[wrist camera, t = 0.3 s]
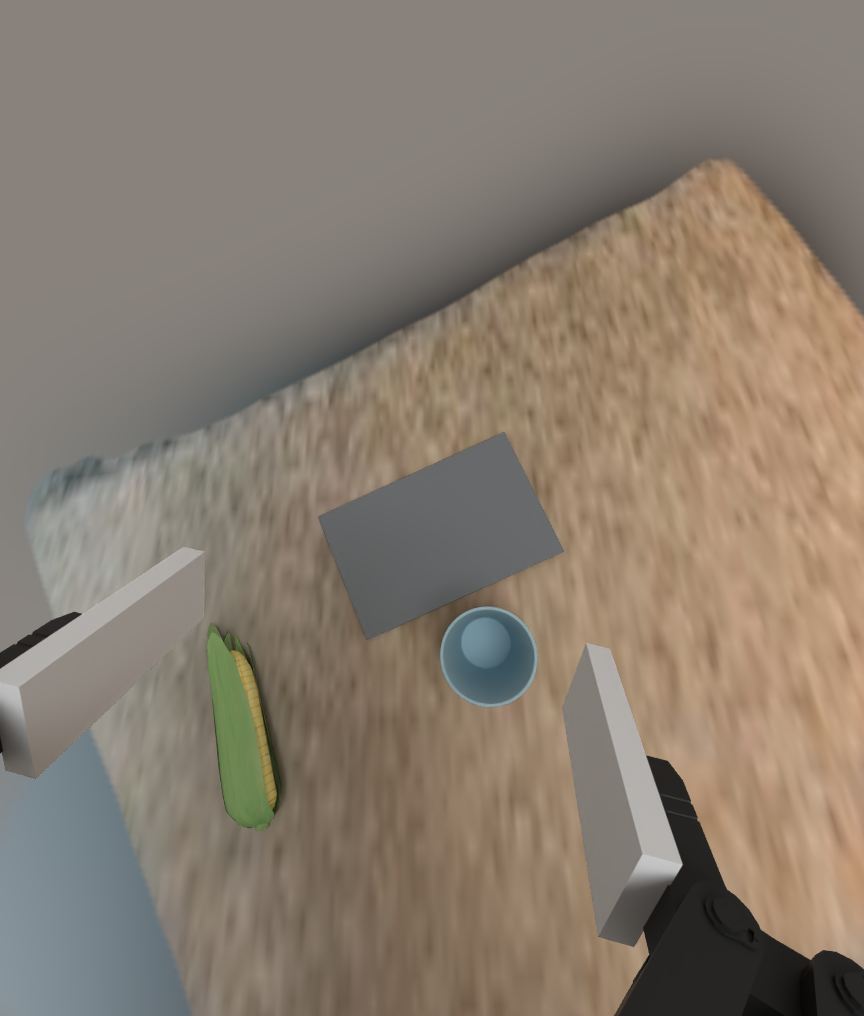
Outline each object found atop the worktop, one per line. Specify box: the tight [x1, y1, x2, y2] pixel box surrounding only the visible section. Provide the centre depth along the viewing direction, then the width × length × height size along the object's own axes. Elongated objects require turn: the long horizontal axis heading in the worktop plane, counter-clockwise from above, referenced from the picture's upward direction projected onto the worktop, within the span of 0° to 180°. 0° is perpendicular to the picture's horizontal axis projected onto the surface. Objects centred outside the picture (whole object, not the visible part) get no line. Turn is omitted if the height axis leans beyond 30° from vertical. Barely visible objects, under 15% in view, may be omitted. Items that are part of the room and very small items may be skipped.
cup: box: [440, 606, 537, 707], centre depth 42 cm, size 8×8×10 cm
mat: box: [318, 432, 564, 640], centre depth 49 cm, size 14×22×1 cm, turn 114°
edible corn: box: [206, 623, 281, 831], centre depth 46 cm, size 5×20×4 cm
